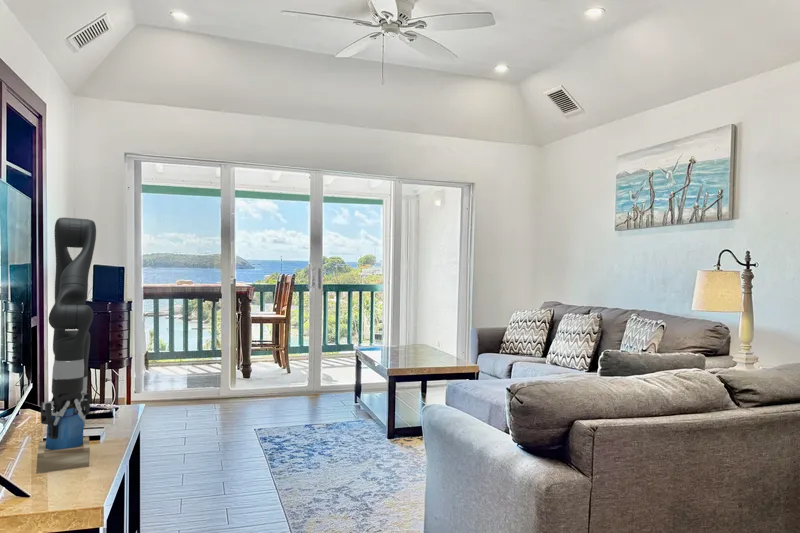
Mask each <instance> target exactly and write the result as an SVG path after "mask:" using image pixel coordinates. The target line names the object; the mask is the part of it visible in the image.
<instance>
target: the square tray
mask: <svg viewBox="0 0 800 533" xmlns="http://www.w3.org/2000/svg"><path fill="white" fill-rule="evenodd" d="M90 443H91V442H90V436H89V435H86V436H85V435H83V444H82V445H80V446H77V447H74V448H68V449H59V450H51V449H46V439H45V440H39V444H38V449H37V454H36V471H35V473H36V474H42V473H50V472H56V471H66V470H72V469H78V468H79V469H80V468H88V467H90V455H91V454H90V452H91V444H90Z"/></svg>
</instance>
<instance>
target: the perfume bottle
mask: <svg viewBox="0 0 800 533" xmlns="http://www.w3.org/2000/svg"><path fill="white" fill-rule="evenodd" d="M72 406H73V403H72V404H69V406H68V407H67V409H66V411H65V413H64V415H63V417H61V418H60V420H59V422H58V424H57V425H58V437H57V438H56V439H50V438H49V437H48V425H47V426H46V436H45V437H46V439H45V440H46V449H51V450H59V449H68V448H74V447H77V446H80V445H82V444H83V436H84V430H85V429H84V428H85V426H84V422H83V421H82V419H81V418H80V416H79V415H78V414H72V412H73V411H74V407H73V408H72ZM54 419H55V418H54ZM53 421H54V420H53Z"/></svg>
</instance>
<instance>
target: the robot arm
mask: <svg viewBox="0 0 800 533" xmlns="http://www.w3.org/2000/svg"><path fill="white" fill-rule="evenodd" d="M53 232H54V249H55V251H54V253H55V277H54V278H55V279H54V280H55V281H54V304H53V306H52V308H51V309H50V312H49V315H48V323H49V325H50V327H51V328H52V329H53V338H52V339H53V340H52V352H53V355H54V361H53V366H52V373H51V374H52V378H51V393H52V398H51V400H48V401H42V402H40V423H41V424H42V425H47V426H48V437H49V438H50V439H56V438H57V437H58V425H57V424H58V422H59V420H60V418H61V417H63V415H64V413H65V411H66V409H67V407H68V406H69V404H72V403H73V406H72V408H73V407H74V411H73V412H72V414H78V415H79V416H80V418H81V419H82V421H83V422H84V427H85V426H86V416H88V415H89V413H90V409H91V408H90V407H91V401H92V394H91V393H88V392H87V391H88V374H89V372H88V371H89V370H88V368H89V355H90V346H91V333H90V331H89V329H90V328H91V325H92V322H93V320H94V311H93V308H92V307H91V306H90V305H88V304H86V302H87V300H88V292H89V291H88V290H89V288H88V287H89V275H90V268H91V265H92V261H93V255H94V251H95V246H96V240H97V227H96V223H95V221H94V220H91V219H86V218H76V217H75V218H74V217H59V218H58V219H57V220H56V221H55V223H54V231H53ZM68 248H75V249H81V251H80V253H79V254H78V255H77V256H76V257H75V258H74V259H73V258H72V257H71V255H70V252H69V249H68ZM54 418H55V419H54ZM53 420H54V421H53Z"/></svg>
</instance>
